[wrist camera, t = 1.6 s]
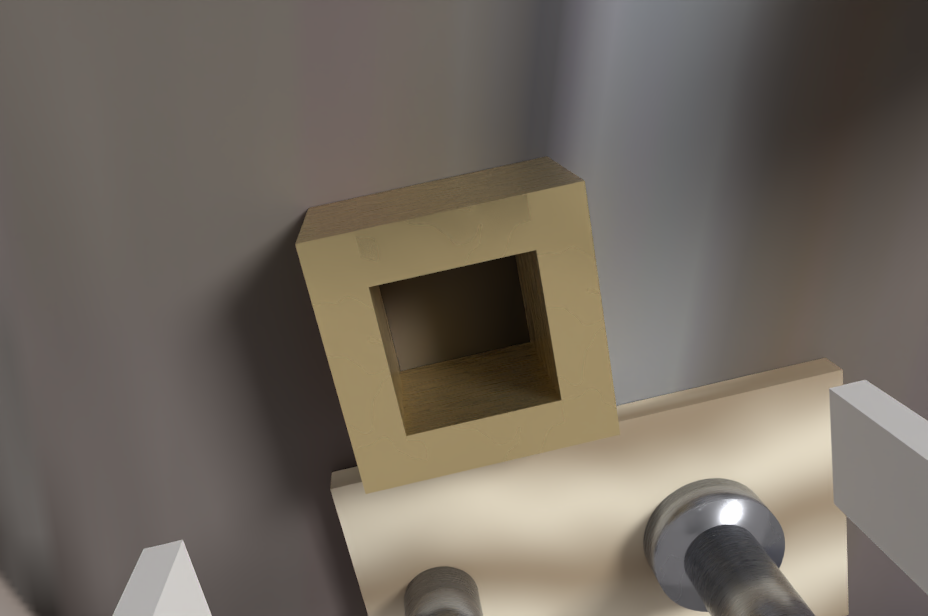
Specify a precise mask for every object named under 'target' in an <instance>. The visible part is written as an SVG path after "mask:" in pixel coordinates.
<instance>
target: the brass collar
mask: <svg viewBox="0 0 928 616" xmlns="http://www.w3.org/2000/svg"><path fill="white" fill-rule="evenodd" d="M295 246H296V249H297V253H298V256H299V260H300V263H301V267H302V270H303V274H304V277H305V281H306V285H307V288H308V292H309V295H310V299H311V302H312V306H313V309H314V313H315V316H316V320H317V324H318V327H319V331H320V334H321V338H322V341H323V345H324V348H325V352H326V355H327V359H328V363H329V366H330V370H331V373H332V377H333V380H334V384H335V387H336V391H337V394H338V398H339V402H340V405H341V409H342V412H343V416H344V419H345V423H346V426H347V430H348V433H349V437H350V441H351V444H352V448H353V451H354V455H355V458H356V462H357V465H358V469H359V472H360V476H361V480H362V483H363V487H364V490H365V494H369V493H373V492H377V491H381V490H386V489H390V488H394V487H399V486H403V485H407V484H411V483H416V482H420V481H424V480H428V479H433V478H437V477H441V476H445V475H450V474H454V473H458V472H463V471H467V470H471V469H475V468H480V467H484V466H488V465H492V464H497V463H501V462H505V461H510V460H514V459H518V458H522V457H527V456H531V455H535V454H539V453H544V452H548V451H552V450H556V449H561V448H565V447H569V446H574V445H578V444H582V443H586V442H591V441H595V440H599V439H603V438H608V437H612V436H616V435H620V429H619V422H618V415H617V408H616V401H615V393H614V386H613V379H612V372H611V365H610V358H609V351H608V344H607V337H606V330H605V322H604V315H603V308H602V301H601V294H600V287H599V280H598V273H597V266H596V259H595V252H594V244H593V237H592V230H591V223H590V216H589V209H588V202H587V195H586V188H585V181H584V180H583V179H581V178H579V177H578V176H576V175H575V174H573V173H572V172H570V171H569V170H567V169H565V168H564V167H562V166H561V165H559V164H558V163H556V162H555V161H553V160H551V159H550V158H548V157H547V156H546V157H542V158H537V159H532V160H528V161H523V162H519V163H514V164H509V165H505V166H500V167H496V168H491V169H486V170H482V171H477V172H473V173H468V174H463V175H459V176H454V177H450V178H445V179H440V180H436V181H431V182H427V183H422V184H417V185H413V186H408V187H404V188H399V189H394V190H390V191H385V192H380V193H376V194H371V195H367V196H362V197H357V198H353V199H348V200H344V201H339V202H334V203H330V204H325V205H321V206H316V207H311V208H309V209H308V211H307V214H306V217H305V219H304V222H303V225H302V227H301V230H300V233H299V235H298V238H297V241H296V243H295ZM511 255H515V259H516V264H517V270H518V275H519V281H520V286H521V292H522V298H523V303H524V309H525V314H526V320H527V326H528V331H529V337H530V342H527V343H523V344H519V345H514V346H510V347H505V348H501V349H497V350H492V351H488V352H484V353H479V354H475V355H470V356H466V357H462V358H457V359H453V360H448V361H444V362H440V363H435V364H431V365H426V366H422V367H418V368H413V369H409V370H404V371H400V368H399V364H398V360H397V356H396V352H395V348H394V344H393V339H392V335H391V331H390V327H389V323H388V319H387V315H386V311H385V307H384V303H383V299H382V295H381V291H380V287H379V285H381V284H385V283H390V282H394V281H399V280H403V279H408V278H412V277H417V276H421V275H426V274H430V273H435V272H439V271H444V270H448V269H453V268H457V267H462V266H466V265H471V264H475V263H480V262H484V261H489V260H493V259H498V258H502V257H507V256H511Z"/></svg>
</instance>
